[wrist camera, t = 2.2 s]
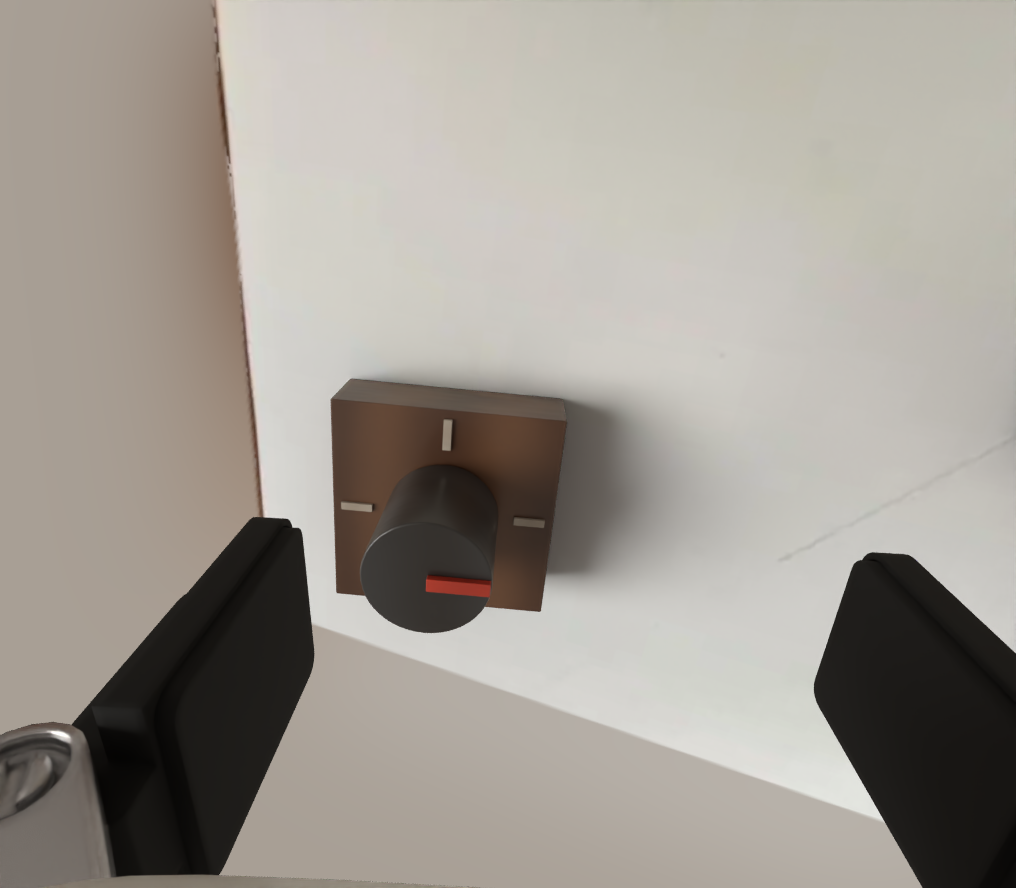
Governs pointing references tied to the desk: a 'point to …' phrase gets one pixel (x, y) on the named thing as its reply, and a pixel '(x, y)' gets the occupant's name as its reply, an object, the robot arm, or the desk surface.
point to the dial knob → (432, 551)
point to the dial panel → (455, 442)
